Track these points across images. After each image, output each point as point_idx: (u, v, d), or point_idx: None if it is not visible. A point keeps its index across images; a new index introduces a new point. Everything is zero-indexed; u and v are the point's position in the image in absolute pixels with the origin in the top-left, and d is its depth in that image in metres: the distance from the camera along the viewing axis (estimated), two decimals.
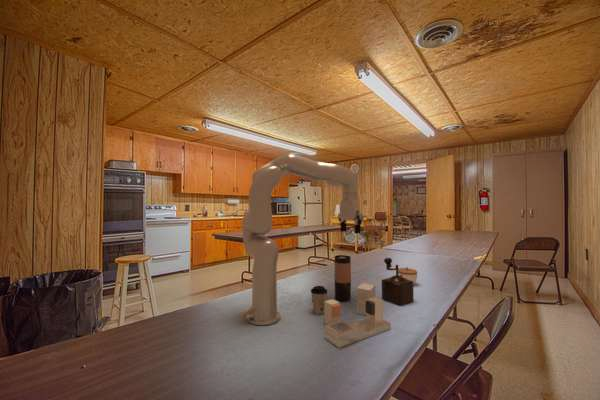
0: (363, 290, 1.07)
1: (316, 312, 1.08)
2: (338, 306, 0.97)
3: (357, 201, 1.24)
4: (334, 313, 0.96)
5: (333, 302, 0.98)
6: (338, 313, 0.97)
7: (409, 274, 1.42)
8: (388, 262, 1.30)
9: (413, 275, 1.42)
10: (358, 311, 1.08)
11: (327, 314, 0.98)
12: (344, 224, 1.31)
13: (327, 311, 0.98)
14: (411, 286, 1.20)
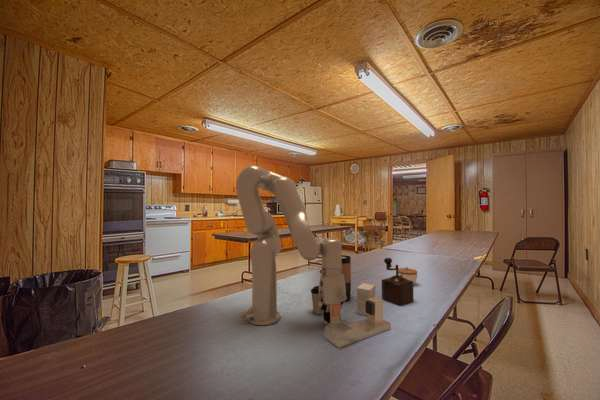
0: (363, 290, 1.07)
1: (316, 312, 1.08)
2: (338, 306, 0.97)
3: None
4: (334, 313, 0.96)
5: None
6: (338, 313, 0.97)
7: (409, 274, 1.42)
8: (388, 262, 1.30)
9: (413, 275, 1.42)
10: (358, 311, 1.08)
11: None
12: None
13: None
14: (411, 286, 1.20)
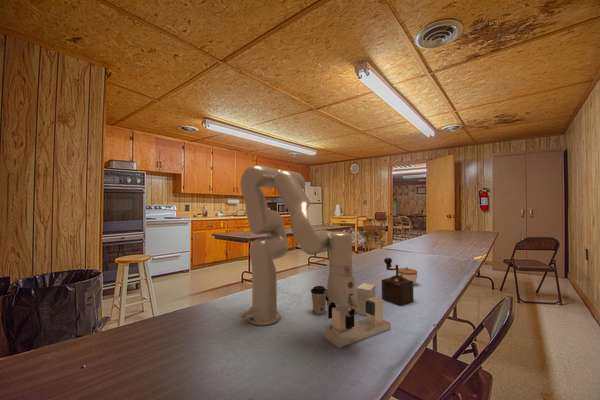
0: (363, 290, 1.07)
1: (316, 312, 1.08)
2: None
3: None
4: None
5: (342, 308, 0.88)
6: None
7: (409, 274, 1.42)
8: (388, 262, 1.30)
9: (413, 275, 1.42)
10: (358, 311, 1.08)
11: (343, 325, 0.85)
12: None
13: (344, 321, 0.85)
14: (411, 286, 1.20)
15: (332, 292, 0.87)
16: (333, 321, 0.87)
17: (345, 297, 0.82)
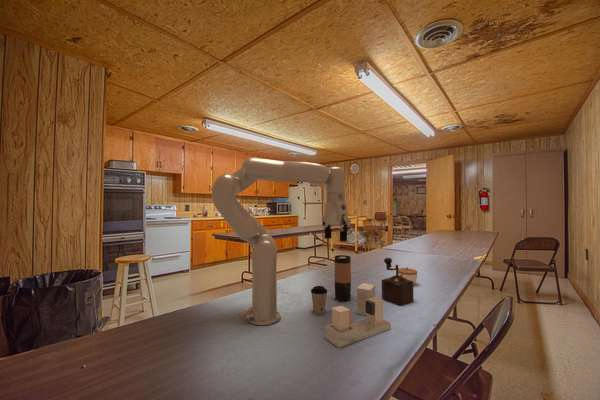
0: (363, 290, 1.07)
1: (316, 312, 1.08)
2: None
3: None
4: None
5: (342, 308, 0.88)
6: None
7: (409, 274, 1.42)
8: (388, 262, 1.30)
9: (413, 275, 1.42)
10: (358, 311, 1.08)
11: (343, 325, 0.85)
12: None
13: (344, 321, 0.85)
14: (411, 286, 1.20)
15: (328, 216, 1.07)
16: (333, 321, 0.87)
17: (339, 216, 1.02)
